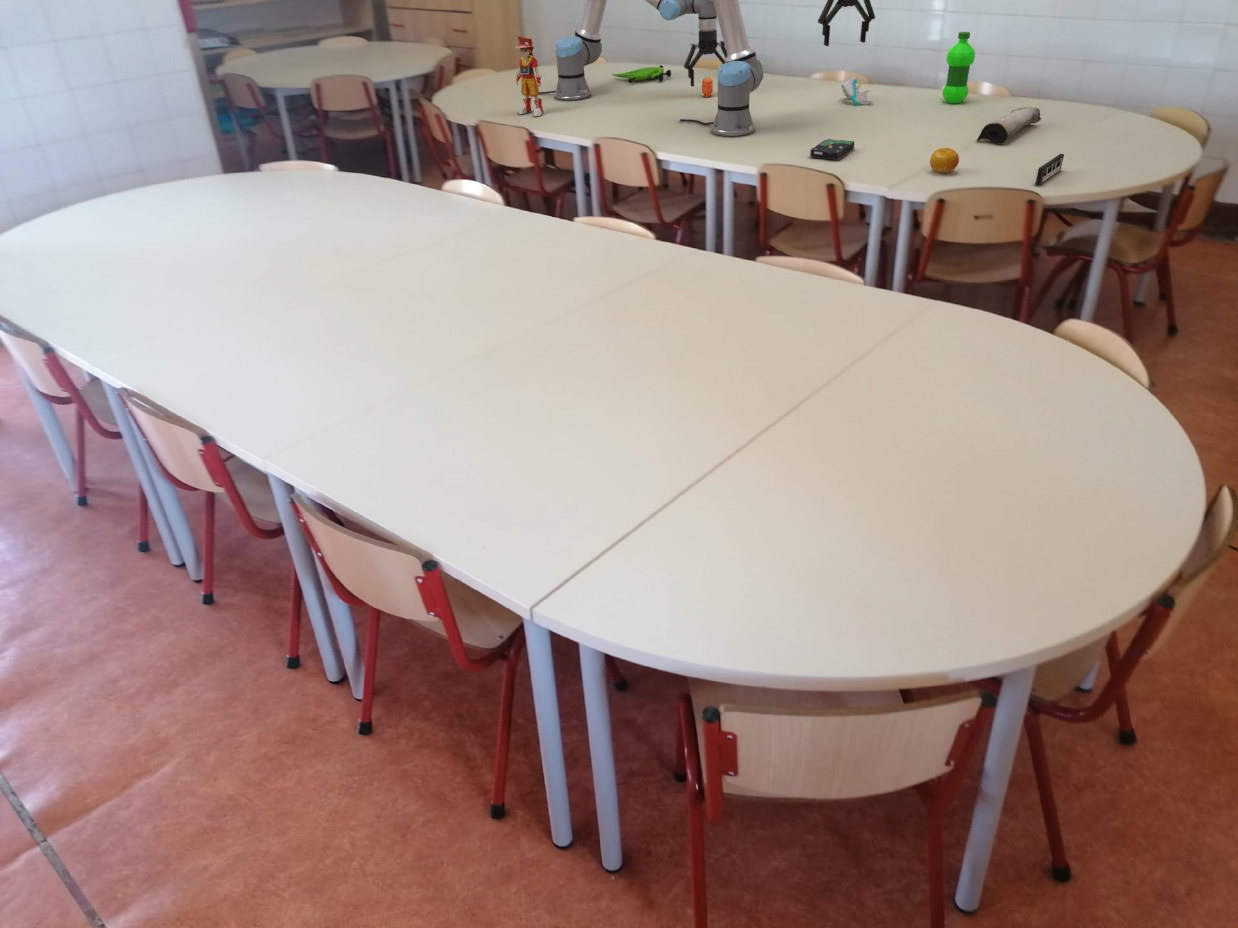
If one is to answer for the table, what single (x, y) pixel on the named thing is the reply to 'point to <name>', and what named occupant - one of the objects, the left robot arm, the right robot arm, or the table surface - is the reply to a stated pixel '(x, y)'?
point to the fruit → (944, 160)
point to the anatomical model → (855, 92)
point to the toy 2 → (645, 74)
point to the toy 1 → (529, 77)
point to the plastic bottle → (958, 69)
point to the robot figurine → (707, 87)
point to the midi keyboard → (1049, 169)
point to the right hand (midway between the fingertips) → (844, 44)
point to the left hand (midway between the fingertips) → (707, 84)
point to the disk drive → (832, 149)
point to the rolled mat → (1009, 124)
